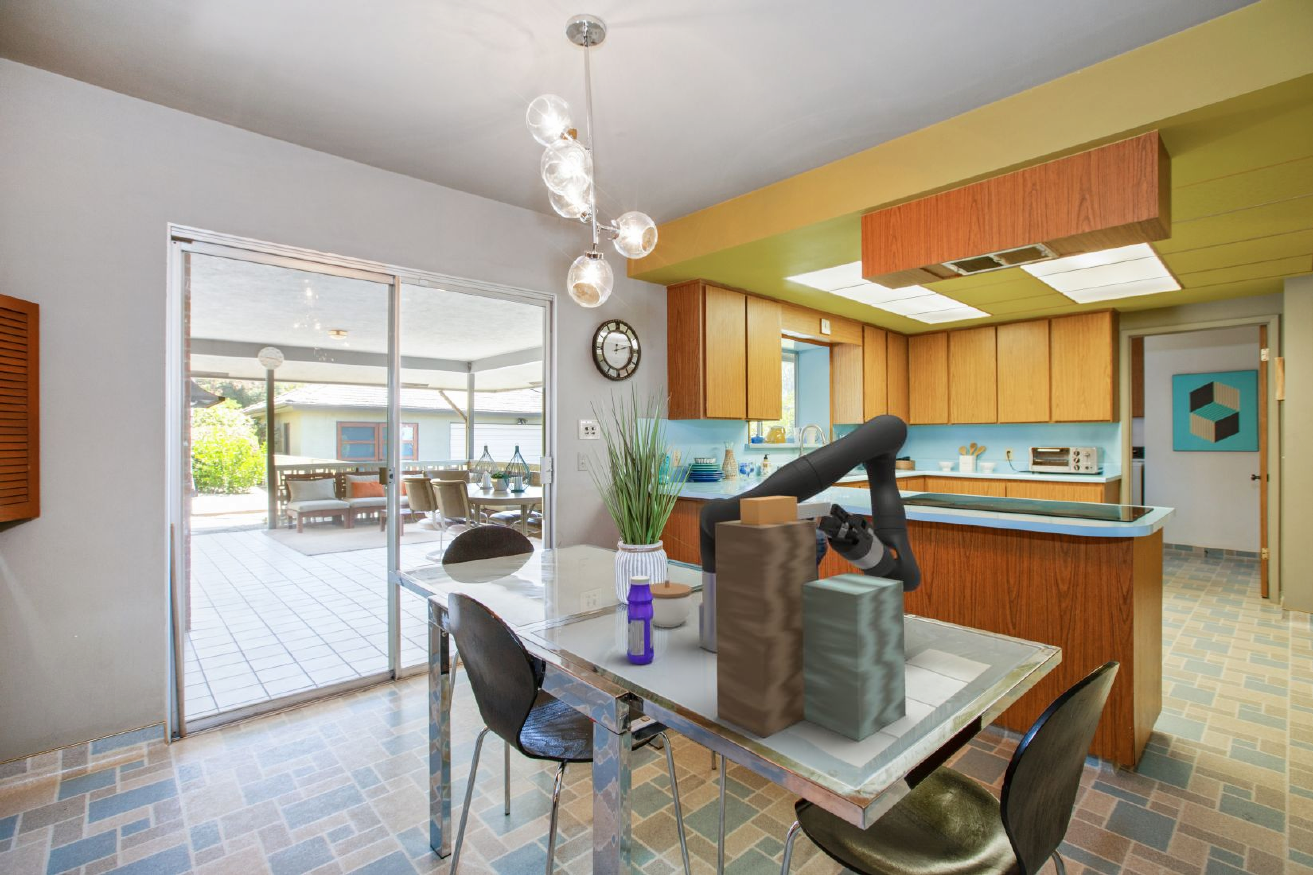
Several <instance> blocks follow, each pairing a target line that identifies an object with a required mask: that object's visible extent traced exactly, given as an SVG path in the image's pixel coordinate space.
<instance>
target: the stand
mask: <svg viewBox="0 0 1313 875" xmlns="http://www.w3.org/2000/svg"><path fill="white" fill-rule="evenodd" d="M715 556H716V636H717V652H716V694H717V697H716V698H717V699H716V700H717V704H716V706H717V708H716V709H717V711H716V712H717V717H718V718H719V719H722V720H724V721H727V722H728V723H731V724H733V725H735V726H737V727H740V728H742V729H743V730H746V731H748V732H750V733H752V734H754V735H756V736H759V737H761V738H763V739H766V738H768V737H770V736H772V735H774V734H776V733H778V732H781V731H783V730H784V729H787V728H788V727H791V726H793V725H795V724H797V723H799V722H801V721H803V720H806V721H808V722H811V723H812V724H816V725H818V726H820V727H822V728H825V729H827V730H830V731H832V732H834V733H837V734H839V735H842V736H845V737H846V738H850V739H852V740H854V741H856V742H861V741H863V740H864V739H866V738H868V737H870V736H871V735H873V734H875V733H877V732H878V731H880V730H882V729H883V728H885V727H887V726H888V725H891V724H892V723H893V722H896V721H897V720H899V719H901V718H902V717H905V716H906V715H907V714H906V710H907V707H906V706H907V704H906V703H907V702H906V665H905V663H906V661H905V659H906V657H905V619H904V618H905V612H904V609H905V608H904V607H905V606H904V605H905V604H904V603H905V602H904V592H903V581H898V580H892V579H886V578H880V577H874V576H868V575H865V574H861V573H855V572H846V573H842V574H838V575H834V576H830V577H826V578H821V579H818V580H817V574H816V521H808V520H798V519H797V520H796V521H788V522H780V523H773V524H765V525H752V524H744V523H741V520H737V521H729V522H721V523H715Z"/></svg>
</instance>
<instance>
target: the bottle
mask: <svg viewBox="0 0 1313 875" xmlns="http://www.w3.org/2000/svg"><path fill="white" fill-rule="evenodd" d="M629 579H630V581H629V582H630V588H629V592H628V595H627V596H626V602H628V603H627V608H626V616H627V650H626V655H627V659H628V661H629V663H632V664H635V665H639V664H641V665H642V664H649V663H651V662H652V661H653V659H654V655H655V650H654V646H655V645H654V623H653V605H652V600H653V596H652V594H651V591H650V576H647V575H634V576H631V577H630V578H629Z"/></svg>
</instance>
